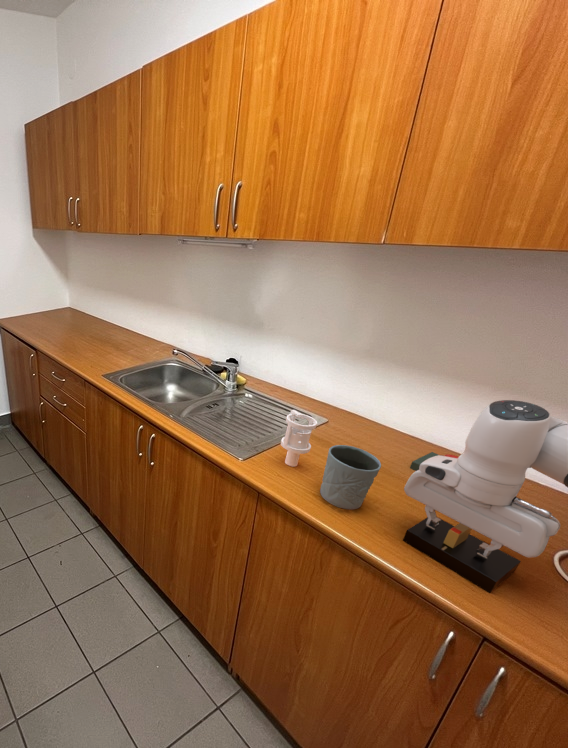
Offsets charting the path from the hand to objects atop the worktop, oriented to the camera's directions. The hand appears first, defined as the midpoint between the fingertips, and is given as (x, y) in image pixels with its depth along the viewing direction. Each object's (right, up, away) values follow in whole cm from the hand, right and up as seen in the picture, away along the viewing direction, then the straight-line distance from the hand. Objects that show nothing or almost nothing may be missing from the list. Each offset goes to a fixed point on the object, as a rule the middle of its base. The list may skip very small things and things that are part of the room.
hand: (456, 538), depth 79 cm
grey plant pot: (-11, +3, +17) cm, 21 cm away
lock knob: (0, -1, 0) cm, 1 cm away
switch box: (+21, +7, +24) cm, 33 cm away
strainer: (-16, +8, +30) cm, 35 cm away
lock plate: (0, -4, +1) cm, 4 cm away
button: (+21, +10, +23) cm, 33 cm away
